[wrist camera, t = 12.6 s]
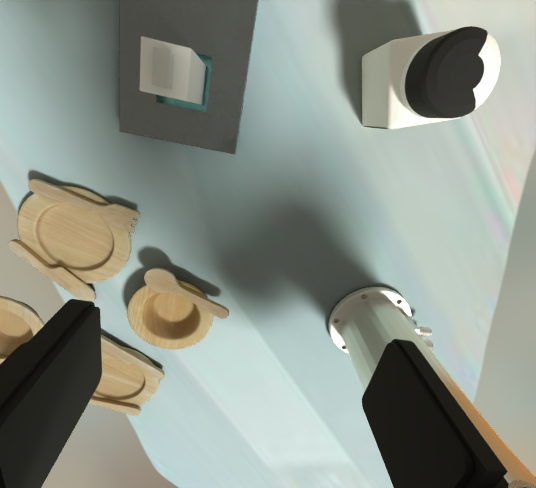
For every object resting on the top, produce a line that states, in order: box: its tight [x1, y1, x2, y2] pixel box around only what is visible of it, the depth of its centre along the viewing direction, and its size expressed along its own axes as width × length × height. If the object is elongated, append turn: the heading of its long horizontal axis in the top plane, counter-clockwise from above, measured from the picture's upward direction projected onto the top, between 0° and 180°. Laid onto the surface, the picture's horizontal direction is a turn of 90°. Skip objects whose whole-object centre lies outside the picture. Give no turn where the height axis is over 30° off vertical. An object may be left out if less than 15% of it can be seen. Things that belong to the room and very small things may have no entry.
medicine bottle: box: [362, 26, 501, 129], centre depth 27 cm, size 7×7×12 cm
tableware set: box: [0, 178, 229, 416], centre depth 40 cm, size 35×29×4 cm
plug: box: [140, 36, 207, 105], centre depth 26 cm, size 4×4×10 cm
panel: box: [119, 0, 259, 154], centre depth 27 cm, size 12×24×2 cm, turn 169°
